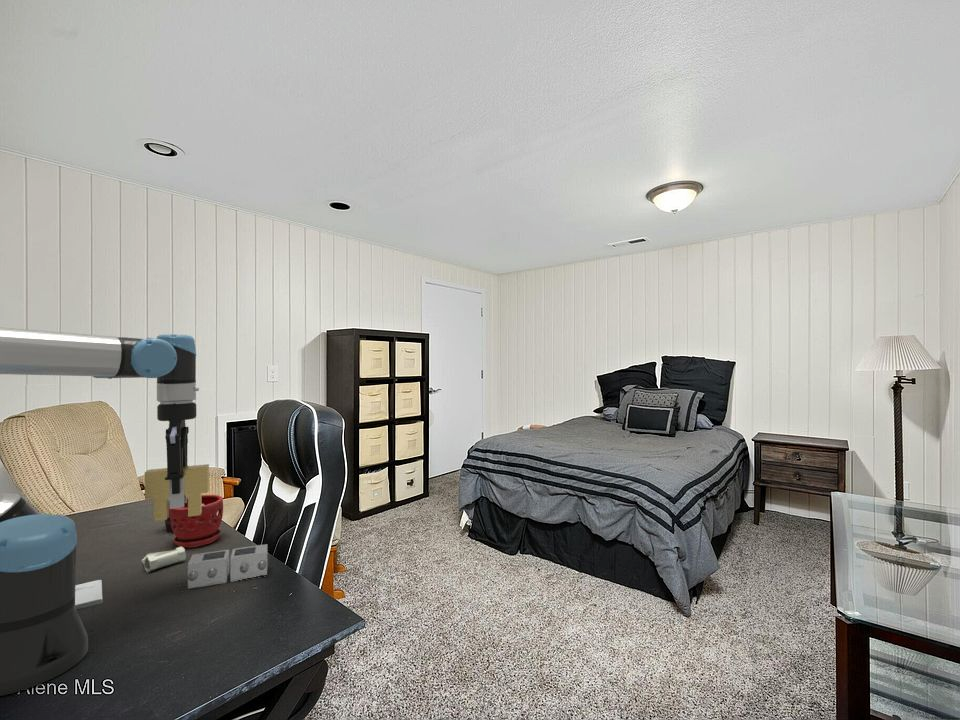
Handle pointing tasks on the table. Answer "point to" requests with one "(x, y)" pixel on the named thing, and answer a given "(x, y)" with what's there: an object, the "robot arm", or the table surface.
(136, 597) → the table surface
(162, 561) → the pipe fitting
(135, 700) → the table surface
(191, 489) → the tan notched arch block
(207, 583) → the twin gray knob boxes
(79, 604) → the external hard drive
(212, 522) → the plant pot
